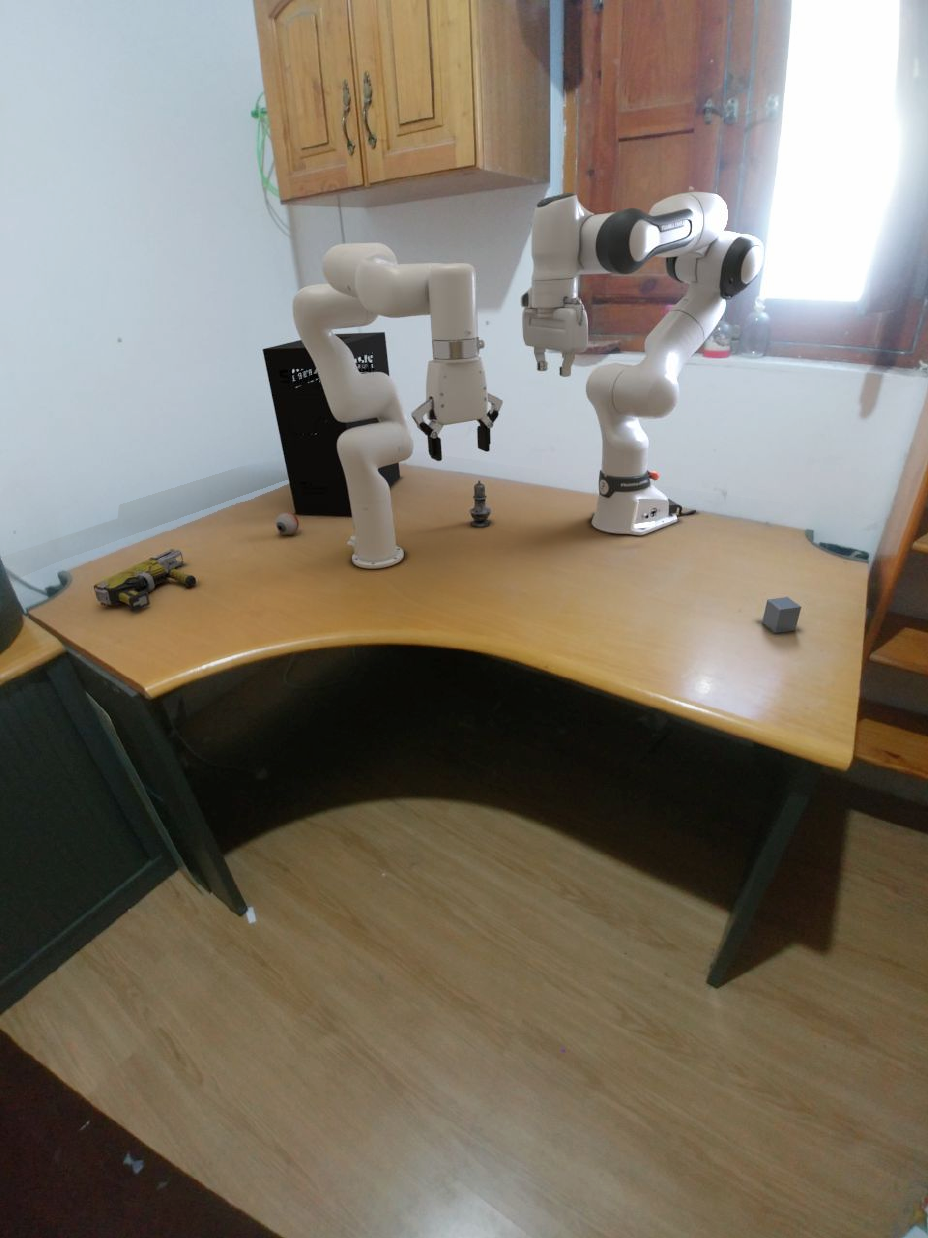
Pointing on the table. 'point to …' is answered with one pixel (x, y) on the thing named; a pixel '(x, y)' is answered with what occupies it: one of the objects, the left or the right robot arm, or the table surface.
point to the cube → (781, 614)
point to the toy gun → (141, 581)
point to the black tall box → (318, 423)
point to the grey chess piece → (480, 507)
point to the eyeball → (287, 523)
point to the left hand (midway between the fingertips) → (460, 454)
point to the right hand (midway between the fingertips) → (553, 373)
